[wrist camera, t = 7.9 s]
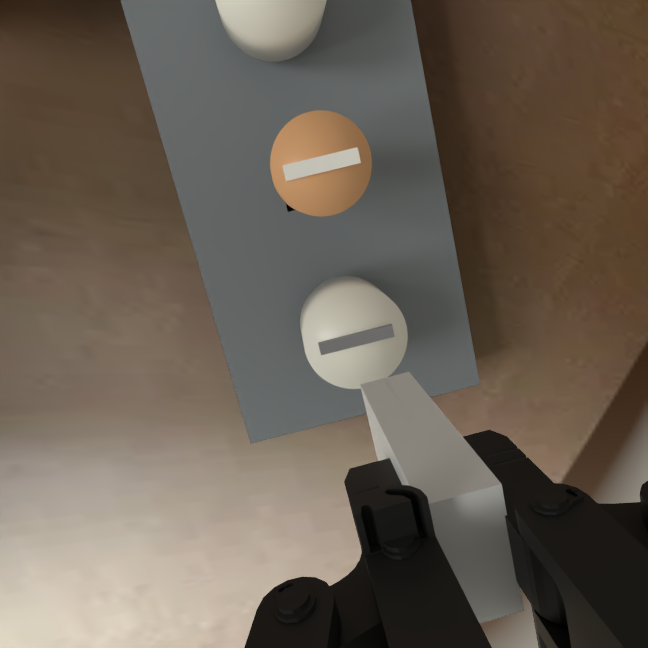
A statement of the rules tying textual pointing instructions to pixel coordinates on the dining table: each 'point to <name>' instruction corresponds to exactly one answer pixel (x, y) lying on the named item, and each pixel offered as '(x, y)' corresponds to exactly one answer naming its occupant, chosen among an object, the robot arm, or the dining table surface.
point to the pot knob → (320, 163)
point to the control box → (296, 227)
